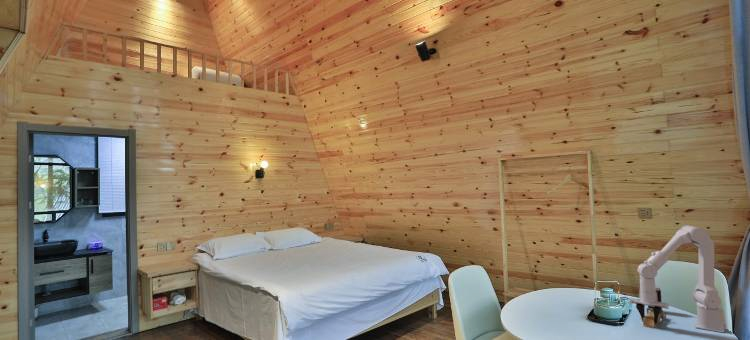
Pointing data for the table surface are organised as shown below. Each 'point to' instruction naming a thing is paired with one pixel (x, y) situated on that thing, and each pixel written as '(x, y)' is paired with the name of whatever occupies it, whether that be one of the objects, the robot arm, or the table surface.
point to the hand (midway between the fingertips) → (649, 322)
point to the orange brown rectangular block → (650, 320)
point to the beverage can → (658, 296)
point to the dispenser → (660, 314)
